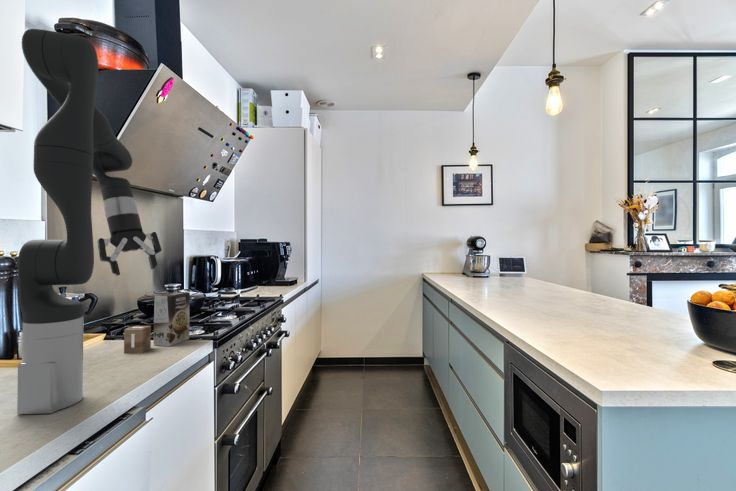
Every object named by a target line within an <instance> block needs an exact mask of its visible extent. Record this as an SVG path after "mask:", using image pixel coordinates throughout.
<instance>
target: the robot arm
mask: <svg viewBox="0 0 736 491" xmlns="http://www.w3.org/2000/svg"><path fill="white" fill-rule="evenodd" d="M21 37H22V38H21V50H22V54H23V57H24V58H25V61H26V63H27V65H28V66H29V68H30V70H31V72H32V73H33V75H34V76H35V78H37V79H38V81H39V82H40V83H41V84H42V86H43V87H44V88H45V89H46V91H47V92H48V94H50V96H51V97H52V99H54V100H55V102H57V104H58V105H59V106H60V107H59V108H58V110H57V111H56V112H55V113H54V114H53V115H52V116H51V117H50V118H49V119H48V120H47V121H46V122H45V123H44V124H43V126H42V127H41V128H40V129H39V131H38V132H37V134H36V136H35V138H34V142H33V164H32V165H33V173H34V176H35V178H36V180H37V181H38V184H40V185H41V187H42V188H43V190H44V191H45V193H46V194H47V196H49V198H50V199H51V200H52V201H53V203H54V205H55V206H56V207H57V208H58V210H59V212H60V213H61V215H62V218H63V220H64V224H65V230H66V239H31V240H27V241H26V242H25V243H24V244H23V245H22V247H21V248H20V249H19V253H18V257H17V279H18V280H17V281H18V294H19V298H18V299H19V307H20V308H19V309H20V311H21V313H22V314H21V315H22V339H21V340H22V341H21V345H22V347H21V348H22V349H21V354H22V355H21V357H22V358H21V362H20V363H19V364H18V365H17V389H16V390H17V397H16V399H17V403H16V405H17V407H16V409H17V411H16V414H17V415H35V414H37V415H39V414H52V413H55V412H56V411H59V410H62V409H65V408H68V407H71V406H73V405H75V404H77V403H79V402H80V401H81V400H83V398H84V395H83V394H84V393H83V392H84V390H83V388H84V317H85V316H84V314H85V313H84V309H85V308H84V304H83V303H82V302H81V301H79V300H75V299H71V298H68V297H65V296H63V295H61V294H59V293H58V292H56V291H55V289H54V287H53V286H74V285H76V286H77V285H83V284H87V283H88V282H89V280H90V279H91V278H92V275H93V272H94V266H95V250H94V248H95V246H94V236H93V234H94V233H93V224H92V223H93V221H92V220H93V219H92V190H93V175H94V177H95V179H96V180H97V183H98V185H99V188H100V191H101V197H102V200H103V201H102V202H103V206H104V215H105V218H106V221H107V226H108V231H109V234H110V238H103V237H100V238H99V239H98V240H97V249H98V253H99V254H98V255H99V261H100V262H102V263H103V262H104V263H105V262H107V263H109V265H110V269H111V273H112V274H113V275H115V276H117V277H118V276H120V275H121V272H120V267H119V264H118V261H117V258H118V256H119V255H120V254H121V252H123V253H128V252H132V251H133V252H135V251H139V250H140V251H142V253H145V254H146V255H147V256H148V258H147V259H148V262H149V267H150V270H155V269H156V267H157V266H158V261H157V257H156V254H158V253H160V252H162V246H161V243H160V240H159V237H158V234H157V232H155V231H153V232H150V233H145V232H144V231H143V226H142V223H141V219H140V214H139V210H138V206H137V204H136V202H135V198H134V195H133V190H132V186H131V183H130V181H129V180H128V179H127V178H125V177H117V176H115V177H114V176H109V175H107V174H106V173H113V172H124V171H127V170H129V169H130V168H131V167H132V165H133V158H132V154H131V153H130V151H129V150H128V148H127V147H126V146H125V144H123V143H121V141H120V140H119V139H118V138H117V137H116V136H115V134H114V131H113V129H112V127H111V124H110V122H109V120H108V118H107V116H106V115H105V114H104V113H103V112H102V111H101V110H100V109H99V108H98V107H97V106H96V105H95V103H96V97H97V90H98V88H97V87H98V79H99V78H98V77H99V59H98V53H97V50H96V48H95V46H94V43H92V41H91V40H89V38H85V37H83V36H80V35H74V34H69V33H64V32H58V31H51V30H47V29H40V28H28V29H27V30H25V31H24V33H23V34H22V36H21ZM146 239H148V241H149V242H151V244H152V247H153V249H152V248H151V247H150V246H149V245H148V244H147V243H146V242H145V241H146ZM109 243H110V244H111V245H112V246H114V247H115V249H114V251H113V252H112V254H111V256H108V254H107V249H106V248H107V247H108V246H109Z"/></svg>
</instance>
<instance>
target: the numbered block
mask: <svg viewBox="0 0 736 491" xmlns="http://www.w3.org/2000/svg"><path fill="white" fill-rule="evenodd" d="M123 334H124V336H123V354H143V353H145V352H146V351H149V350H150V349H151V348H152V336H151V335H152V325H133V326H131V327H128V328H125V329H124V330H123Z"/></svg>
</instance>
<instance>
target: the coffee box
mask: <svg viewBox="0 0 736 491" xmlns="http://www.w3.org/2000/svg"><path fill="white" fill-rule="evenodd" d="M190 295H191V292H183V291H182V292H181V291H180V292H179V291H177V292H176V291H175V292H168V293H162V294H156V295H154V300H153V302H154V304H153V305H154V308H153V310H154V311H153V312H154V313H153V342H152V343H153V346H162V347H171V346H172V347H173V346H174V345H177V344H179V343H183V342H186V341H188V340H190V307H191V306H190V303H191V301H190V297H191V296H190Z"/></svg>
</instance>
